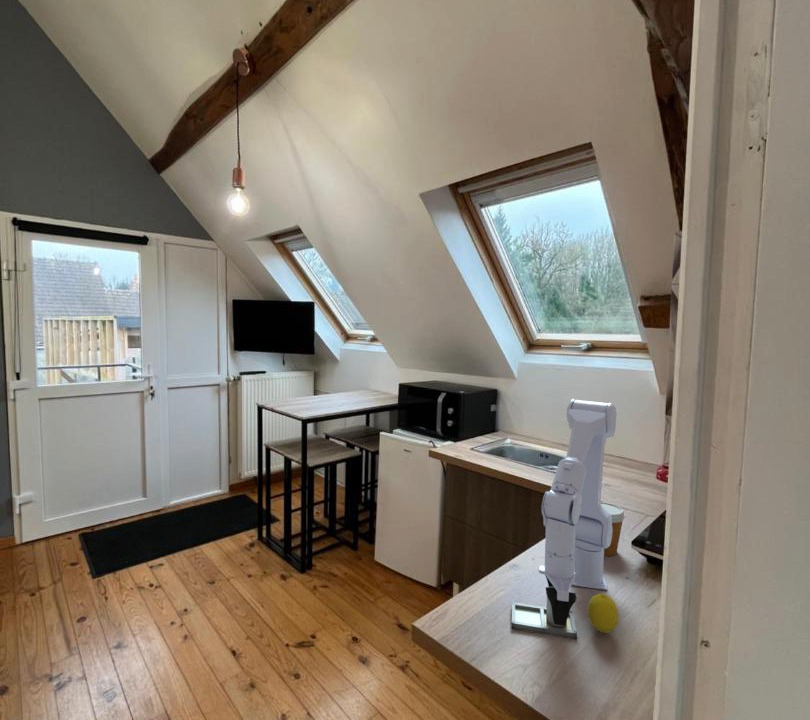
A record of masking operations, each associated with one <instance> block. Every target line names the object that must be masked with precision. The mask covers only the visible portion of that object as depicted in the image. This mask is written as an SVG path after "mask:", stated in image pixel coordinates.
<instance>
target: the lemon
mask: <svg viewBox="0 0 810 720" xmlns="http://www.w3.org/2000/svg"><path fill="white" fill-rule="evenodd" d="M587 614H588V615H587V616H588V619H589V623H591V625H592V626H593V627H594V629H596V630H598V631H600V633H602V634H604V633H610V632H613V631H614V630H615V629H616V627H617V625H618V624H619V610H618V607H617V604H616V603H615V601H614V600H613V599H612V597H610V596H608V595H607V594H605V593H597V594H595V595H593V596H592V597H591V599H590V601H589V603H588V608H587Z"/></svg>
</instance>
